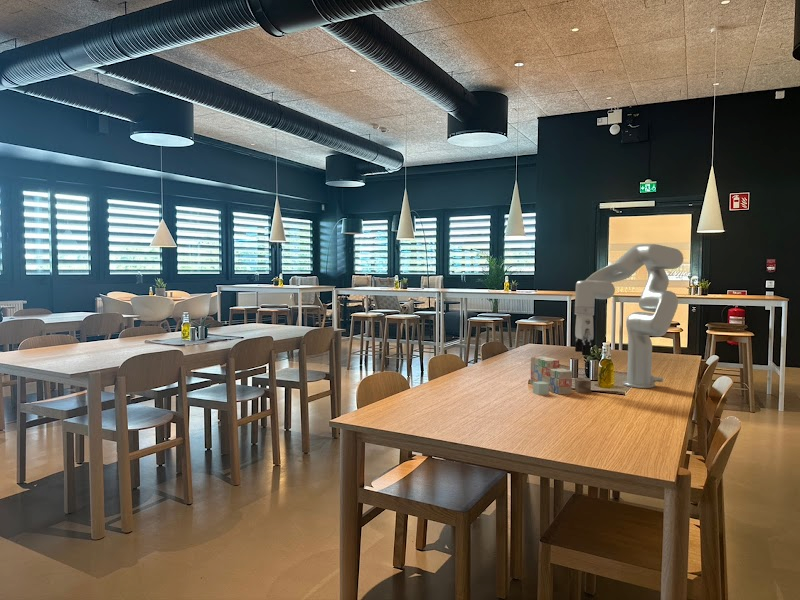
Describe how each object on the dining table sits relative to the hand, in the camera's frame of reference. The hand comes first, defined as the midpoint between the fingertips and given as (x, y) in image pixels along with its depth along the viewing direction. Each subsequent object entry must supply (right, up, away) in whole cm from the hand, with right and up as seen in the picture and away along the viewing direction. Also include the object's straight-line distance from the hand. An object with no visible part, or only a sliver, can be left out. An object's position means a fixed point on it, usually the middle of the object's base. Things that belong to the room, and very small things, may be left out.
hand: (582, 353), depth 229 cm
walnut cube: (0, -16, +1) cm, 16 cm away
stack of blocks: (-11, -16, +6) cm, 20 cm away
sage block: (-18, -16, -3) cm, 24 cm away
